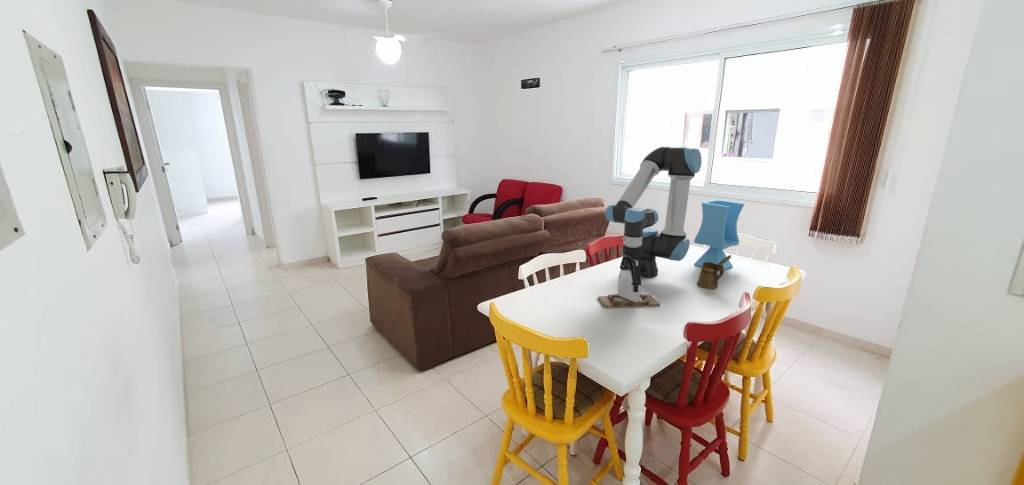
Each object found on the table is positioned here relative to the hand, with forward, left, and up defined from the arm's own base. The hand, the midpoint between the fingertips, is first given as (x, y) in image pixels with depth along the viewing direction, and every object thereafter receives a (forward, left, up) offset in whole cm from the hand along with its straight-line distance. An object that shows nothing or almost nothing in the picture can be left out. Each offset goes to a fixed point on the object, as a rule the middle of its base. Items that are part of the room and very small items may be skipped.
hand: (628, 292), depth 174 cm
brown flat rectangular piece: (0, 0, -5) cm, 5 cm away
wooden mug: (+7, +46, -5) cm, 47 cm away
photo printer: (0, 0, -3) cm, 3 cm away
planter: (-12, +73, -5) cm, 74 cm away
